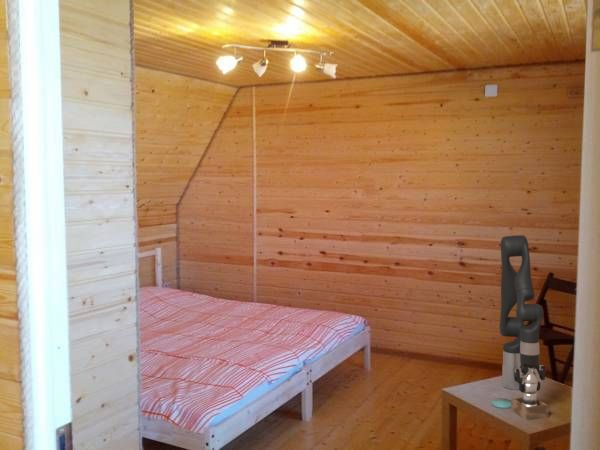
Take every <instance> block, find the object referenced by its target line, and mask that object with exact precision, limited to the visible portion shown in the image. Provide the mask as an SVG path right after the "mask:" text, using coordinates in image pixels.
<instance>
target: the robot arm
mask: <svg viewBox="0 0 600 450" xmlns="http://www.w3.org/2000/svg"><path fill="white" fill-rule="evenodd" d="M529 246H530V245H529V242H528V239H527V237H526V236H525V235H521V234H518V235H517V234H515V235H505V236H503V237H502V238H501V239H500V258H501V259H500V261H501V277H500V278H501V280H500V301H501V302H500V316H499V332H500V335H501V336H503V337H508V338H509V337H510V338H511V337H513V338H515V339H513V340H510V341H507V342H505V343H504V344H503V345H502V365H501V366H502V367H501V368H502V369H501V370H502V372H501V373H502V374H501V375H502V377H501V378H502V381H501V382H502V383H501V384H502V386H503V387H504V388H505V389H507V390H514V391H517V390H518V391H520V392H521V393H522V394H523V393H524V392H525V384H524V383H525V380H526V379H527V378H528V376H529V374H530V372H531V369H529V368H534V374H535V375H536V376H537V378H538V385H537V392H538V391H540V389H541V382H542V381H545V379H546V373H547V372H546V369H547V367H546V366H545V365H544V364H540V339H539V338H540V330H541V329H540V328H541V325H542V322H543V317H544V313H545V312H544V308H543V307H542V306H541V305H540V304H539V303H529V304H528V303H527V304H525V302H530V301H532V300H534V299H535V297H536V294H535V288H534V284H533V279H532V273H531V272H532V271H531V260H530V259H531V257H530V249H529V248H530V247H529ZM513 257H514V258H515V257H521V264H520V266H519V268H518V271H517V270H516V269H515V268H514V267H513V265H512V263H511V261H510V259H511V258H513ZM515 306H516V310H515V316H509V314H510V312H511V311H512V310H513V308H514V307H515ZM525 322H531V323H530V324H528V325H525ZM523 375H525V376H523ZM522 378H523V379H522Z"/></svg>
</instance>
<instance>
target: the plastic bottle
mask: <svg viewBox="0 0 600 450" xmlns="http://www.w3.org/2000/svg"><path fill="white" fill-rule="evenodd" d="M529 369H531V372H530V374H529V376H528V378H527V379H526V380H525V383H524V384H525V392H524V393H522V397H523V399H522V404H523V405H525V406H527V407H532V406H538V404H537V399H538V398H537V396H538V395H537V393H538V391H537V385H538V378H537V376H536V375H535V374H534V368H529ZM523 376H525V375H523ZM522 379H523V378H522Z"/></svg>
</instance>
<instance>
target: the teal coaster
mask: <svg viewBox="0 0 600 450" xmlns="http://www.w3.org/2000/svg"><path fill="white" fill-rule="evenodd" d="M491 406H493V407H495V408H497V409H503V410H504V409H505V410H506V409H507V410H508V409H511V399H509V398H508V399H507V398H503V397H502V398H500V397H497V398H493V399H492V400H491Z"/></svg>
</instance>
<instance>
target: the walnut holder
mask: <svg viewBox="0 0 600 450" xmlns="http://www.w3.org/2000/svg"><path fill="white" fill-rule="evenodd" d="M522 399H523V396H522V397H515V398H511V399H510V400H511V408H510V410H511V411H512V412H513V413H515V414H517V415H518V416H520V417H521V418H523V419H524V420H525V421H530V420H537V419H538V420H539V419H545V418H549V405H548V404H547V403H545V402H543V401H542V400H539V399H538V398H537V404H538V406H532V407H527V406H525V405H523V404H522Z"/></svg>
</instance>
